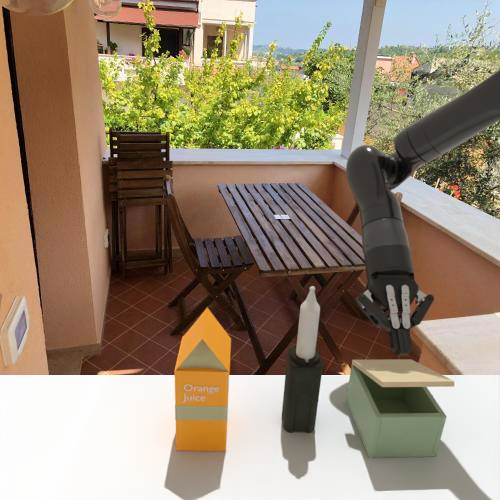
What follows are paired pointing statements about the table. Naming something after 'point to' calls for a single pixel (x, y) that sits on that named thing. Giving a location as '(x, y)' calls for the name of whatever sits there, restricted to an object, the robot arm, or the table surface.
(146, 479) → the table surface
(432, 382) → the lid
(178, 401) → the orange juice
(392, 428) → the chest
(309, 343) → the candle
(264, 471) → the table surface
